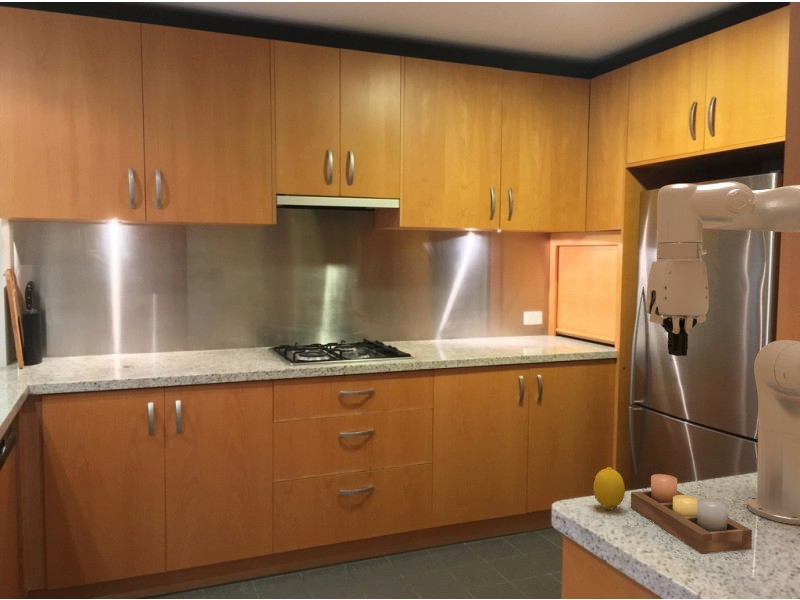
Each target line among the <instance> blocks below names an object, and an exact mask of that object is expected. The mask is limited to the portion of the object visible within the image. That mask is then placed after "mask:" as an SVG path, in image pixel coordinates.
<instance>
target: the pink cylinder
mask: <svg viewBox="0 0 800 600" xmlns="http://www.w3.org/2000/svg"><path fill="white" fill-rule="evenodd" d="M650 491H651V498H652V499H653V500H655V501H657V502H659V503H669V502H673V496H675V495H677V491H678V478H677V477H675V476H673V475H669V474H666V473H665V474H664V473H663V474H662V473H658V474H657V473H655V474H652V475H650Z"/></svg>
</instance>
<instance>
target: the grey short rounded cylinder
mask: <svg viewBox="0 0 800 600" xmlns="http://www.w3.org/2000/svg"><path fill="white" fill-rule="evenodd" d="M728 507H729V506H728V503H727V502H725V501H723V500H722V499H717V498H711V497H702V498H698V503H697V525H698V526H700V527H701V528H703V529H705V530H706V531H708V532H715V531H726V530H727V517H728V511H729V510H728V509H729V508H728Z"/></svg>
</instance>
